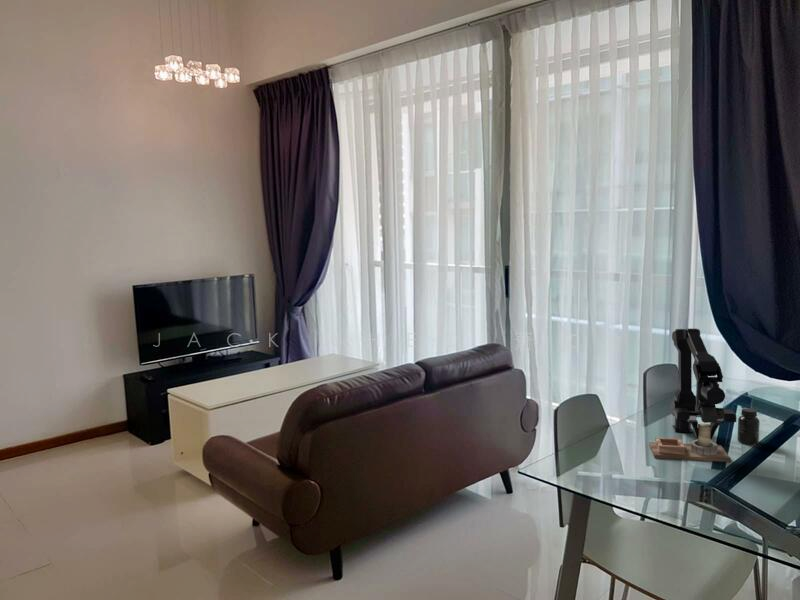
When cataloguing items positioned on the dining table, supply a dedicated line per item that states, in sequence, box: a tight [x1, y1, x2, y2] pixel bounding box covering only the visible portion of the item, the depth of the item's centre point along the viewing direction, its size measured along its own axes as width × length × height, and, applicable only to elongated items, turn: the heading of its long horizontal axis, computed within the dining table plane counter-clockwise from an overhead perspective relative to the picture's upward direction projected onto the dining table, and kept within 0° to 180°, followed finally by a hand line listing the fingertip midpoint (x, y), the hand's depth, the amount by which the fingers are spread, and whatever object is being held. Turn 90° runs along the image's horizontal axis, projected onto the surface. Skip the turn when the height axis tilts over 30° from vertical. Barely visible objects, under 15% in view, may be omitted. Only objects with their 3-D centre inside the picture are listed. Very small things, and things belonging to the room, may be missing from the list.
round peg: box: [697, 422, 711, 447], centre depth 214 cm, size 4×4×8 cm
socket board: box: [648, 437, 731, 463], centre depth 216 cm, size 12×24×4 cm, turn 77°
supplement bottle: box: [736, 407, 761, 446], centre depth 223 cm, size 7×7×12 cm
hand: (703, 438), depth 214 cm, fingers closed on round peg, 4 cm apart
